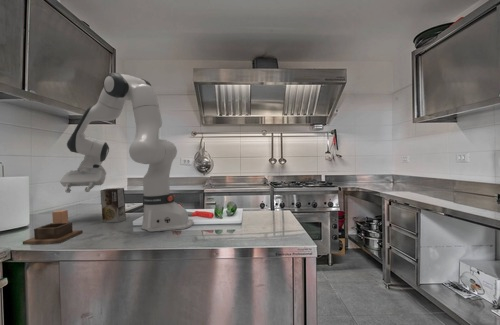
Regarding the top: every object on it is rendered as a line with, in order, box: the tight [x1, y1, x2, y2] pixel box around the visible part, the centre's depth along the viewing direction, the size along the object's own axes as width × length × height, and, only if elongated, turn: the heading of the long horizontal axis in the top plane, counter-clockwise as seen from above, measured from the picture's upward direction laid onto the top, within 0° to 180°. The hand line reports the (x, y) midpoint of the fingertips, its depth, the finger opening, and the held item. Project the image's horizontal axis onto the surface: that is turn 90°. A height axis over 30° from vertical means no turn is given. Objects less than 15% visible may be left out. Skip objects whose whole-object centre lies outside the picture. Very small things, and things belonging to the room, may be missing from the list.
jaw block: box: [51, 209, 69, 223], centre depth 122 cm, size 4×4×9 cm
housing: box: [22, 222, 84, 245], centre depth 111 cm, size 14×14×5 cm
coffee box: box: [99, 187, 127, 223], centre depth 139 cm, size 9×6×16 cm
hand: (77, 191), depth 134 cm, fingers open, 8 cm apart
